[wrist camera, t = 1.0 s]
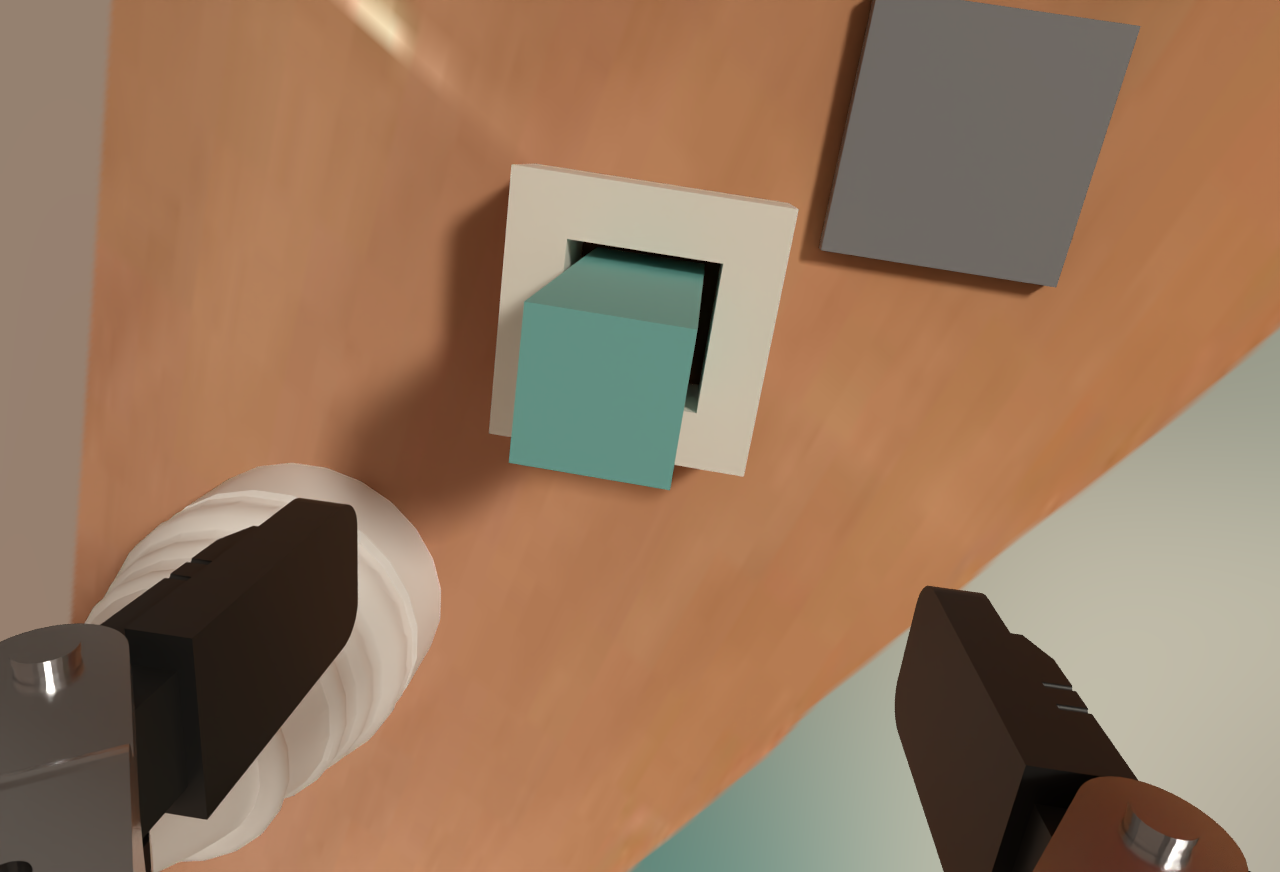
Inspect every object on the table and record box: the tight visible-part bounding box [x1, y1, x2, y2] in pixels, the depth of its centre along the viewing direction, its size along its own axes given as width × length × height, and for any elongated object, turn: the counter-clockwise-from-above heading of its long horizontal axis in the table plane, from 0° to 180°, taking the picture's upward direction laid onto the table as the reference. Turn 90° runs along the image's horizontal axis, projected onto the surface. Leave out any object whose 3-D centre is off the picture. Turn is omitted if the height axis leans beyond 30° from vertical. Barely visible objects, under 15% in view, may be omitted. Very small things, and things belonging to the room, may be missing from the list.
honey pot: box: [84, 463, 441, 872], centre depth 30 cm, size 13×13×18 cm
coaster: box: [819, 0, 1140, 287], centre depth 29 cm, size 9×9×1 cm
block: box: [509, 247, 705, 490], centre depth 27 cm, size 4×4×13 cm
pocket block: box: [489, 164, 799, 477], centre depth 31 cm, size 10×10×4 cm
